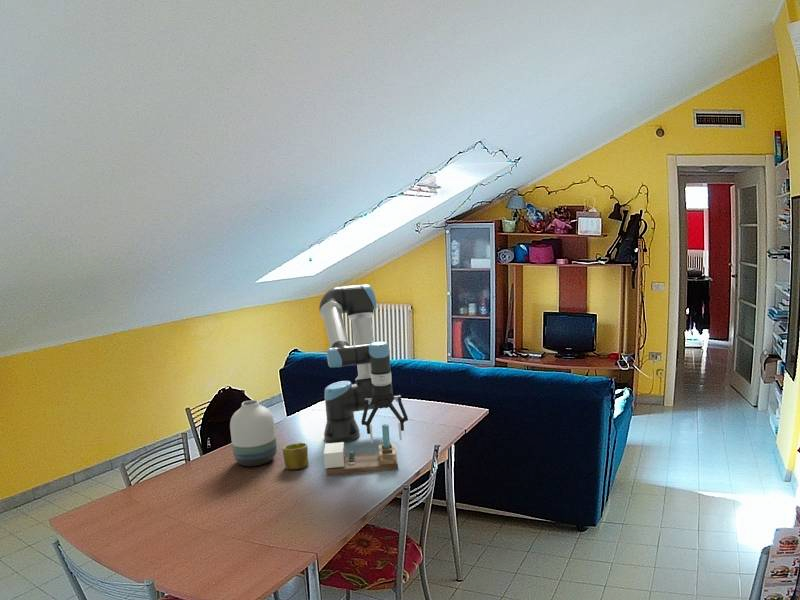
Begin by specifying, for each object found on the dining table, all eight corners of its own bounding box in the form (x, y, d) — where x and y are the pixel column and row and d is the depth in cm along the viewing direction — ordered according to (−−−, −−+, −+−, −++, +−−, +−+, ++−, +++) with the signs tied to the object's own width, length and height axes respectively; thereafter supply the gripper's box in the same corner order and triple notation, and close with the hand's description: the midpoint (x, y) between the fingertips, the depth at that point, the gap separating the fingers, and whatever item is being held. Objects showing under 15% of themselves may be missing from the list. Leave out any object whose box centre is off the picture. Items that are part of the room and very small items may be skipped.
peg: (383, 454, 235) (381, 424, 233) (390, 454, 235) (388, 423, 233) (384, 457, 233) (382, 426, 231) (390, 456, 233) (388, 426, 231)
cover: (326, 457, 235) (325, 443, 235) (345, 456, 236) (343, 442, 235) (325, 468, 225) (323, 453, 225) (344, 466, 226) (342, 451, 225)
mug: (306, 467, 228) (298, 441, 230) (283, 475, 231) (275, 449, 232) (319, 461, 240) (312, 436, 241) (297, 468, 242) (289, 443, 244)
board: (329, 462, 237) (328, 448, 236) (396, 455, 238) (395, 442, 238) (327, 476, 224) (325, 461, 224) (398, 469, 225) (397, 455, 225)
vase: (226, 463, 243) (219, 405, 240) (261, 449, 255) (255, 393, 252) (250, 473, 232) (243, 412, 228) (286, 458, 244) (280, 399, 241)
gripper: (351, 388, 226) (356, 446, 229) (412, 383, 227) (417, 441, 230) (351, 383, 233) (356, 439, 236) (411, 378, 234) (415, 434, 237)
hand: (386, 440), depth 233 cm, fingers open, 10 cm apart
